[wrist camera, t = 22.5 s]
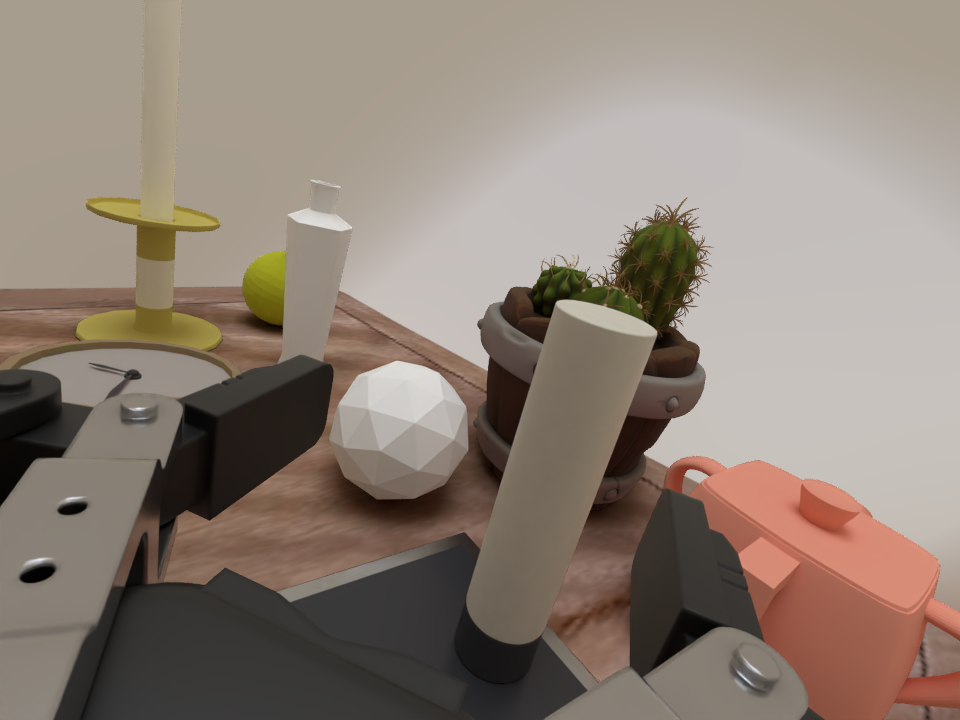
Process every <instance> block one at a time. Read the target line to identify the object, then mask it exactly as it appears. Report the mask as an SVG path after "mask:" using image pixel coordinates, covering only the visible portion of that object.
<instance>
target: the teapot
mask: <svg viewBox="0 0 960 720" xmlns="http://www.w3.org/2000/svg"><path fill="white" fill-rule="evenodd" d="M689 469H694V470H698V471H701V472H703V473H705V474H707V475H708V476H710V477H708V478H706V479H705V480H703V481H702V482H701V483H700V484H699V485H698V486H697V487H696V488H695V489H694V490H693V491H692V492H691V493H690V494H689V496H690V497H692V498H695V499H698V500H701V501H702V502H703V504H704V507H705V512H706V516H707V520H708V524H709V529H712V530H714V531H717V532H720V533H722V534H723V535H724V536H725V537H726V539H727V540H728V541H729V543H730V544H731V545H732V546H733V548H734V549H735V550H736V552H737V553H738V555H739V558H740V562H741V565H742V568H743V572H744V573H743V576H745V578H746V582H747V585H748V588H749V589H748V592H750V595H751V598H752V601H753V605H754V608H755V611H756V615H757V618H758V621H759V625H760V628H761V631H762V635H763V638H764V641H765V643H766V644H768V645H769V646H770V647H772V648H773V649H774V650H775V651H777V652H778V653H779V654H780V655H781V656H782V657H783V658H784V659H785V660H786V661H787V662H788V663H789V664H790V665H791V666H792V668H793V669H794V670H795V671H796V673H797V674H798V676H799V677H800V679H801V680H802V682H803V684H804V686H805V689H806V692H807V695H808V702H809V703H808V707H809V708H810V709H811V710H813V711H814V712H815V713H816V714H818V715H819V716H821V717H822V718H823V719H825V720H883V719H884V717H885V716H886V714H887V713H888V712H889V710H890V708H891V707H892V705H893V703H904V704H913V705H924V706H934V707H946V708H960V671H958V672H955V673H951V674H946V675H941V676H932V677H918V678H907V677H908V675H909V673H910V671H911V668H912V666H913V663H914V661H915V658H916V656H917V653H918V651H919V648H920V645H921V642H922V639H923V635H924V632H925V629H926V625H927V622H930V623H932V624H933V625H935V626H937V627H939V628H940V629H942V630H944V631H945V632H947V633H949V634H950V635H952V636H953V637H955V638H957V639H958V640H960V612H958V611H956V610H954V609H952V608H951V607H948V606H947V605H945V604H942V603H941V602H939V601H937V600H935V599H933V598H934V593H935V590H936V586H937V582H938V577H939V573H940V564H939V563H938V559H937V558H935V557H934V556H933V555H932V554H930V553H929V552H928V551H926V550H925V549H923V548H922V547H920V546H919V545H917V544H916V543H914V542H912V541H911V540H909V539H907V538H906V537H904V536H903V535H901V534H899V533H897V532H896V531H894V530H892V529H891V528H889V527H887V526H886V525H884V524H882V523H880V522H879V521H877V520H875V519H873V517H872V515H871V513H870V512H869V511H868V510H867V509H866V508H865V507H864V506H862V505H861V504H860V503H858V502H857V501H856V500H855V499H854V498H853V497H852V496H850V495H849V494H847V493H846V492H844V491H843V490H841V489H839V488H837V487H835V486H833V485H831V484H828V483H826V482H823V481H819V480H813V479H804V480H802V479H800V478H798V477H796V476H794V475H792V474H790V473H788V472H786V471H784V470H781V469H779V468H777V467H775V466H773V465H770V464H768V463H766V462H763V461H760V460H757V461H751V462H747V463H743V464H740V465H737V466H734V467H732V468H729V469H727V468H725V467H724V466H723V465H721V464H720V463H718V462H717V461H715V460H713V459H710V458H707V457H701V456H692V457H686V458H682V459H680V460H678V461H676V462H675V463H673V464H672V465H671V466H670V468H669V469H668V471H667V473H666V476H665V480H664V489H666V488H668V489H671V490H673V491H676V492H679V493H682V483H683V478H684V475H685V473H686V471H687V470H689ZM647 525H648V524H647Z"/></svg>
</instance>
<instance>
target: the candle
mask: <svg viewBox="0 0 960 720" xmlns="http://www.w3.org/2000/svg"><path fill="white" fill-rule="evenodd" d="M181 8H182V0H144V27H143V83H142V84H143V85H142V86H143V87H142V141H141V144H142V145H141V198H140V200H138V199H127V198H112V197H110V198H108V197H98V198H92V199H88V200H87V202H86V207H87V209H88V210H90V211H92V212H93V213H95V214H97V215H99V216H103V217H105V218H109V219H112V220H116V221H119V222H123V223H128V224H133V225H137V258H136V310H120V311H110V312H106V313H101V314H97V315H92V316H90V317H88V318H86V319H85V320H83V321H81V322H79V323H78V325H77V330H76V337H77V338H78V339H79V340H81V341H84V340H96V339H132V340H144V341H157V342H166V343H172V344H178V345H183V346H189V347H194V348H197V349H201V350H204V351H209V350H212V349H214V348H216V347H217V346H218V344H219V343H220V342H221V341H222V336H221V333H220V330H219V328H217V327H216V326H214V325H213V324H211V323H209V322H208V321H206V320H203V319H200V318H196V317H193V316H190V315H187V314H181V313H175V312H172V308H173V283H174V259H175V234H176V231H189V232H201V231H213V230H215V229H217V228H219V227H220V222H219V220H218V219H217V218H215V217H213V216H211V215H208V214H206V213H202V212H199V211H196V210H192V209H188V208H184V207H179V206H175V205H174V186H175V161H176V135H177V110H178V84H179V83H178V82H179V59H180V34H181Z"/></svg>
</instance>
